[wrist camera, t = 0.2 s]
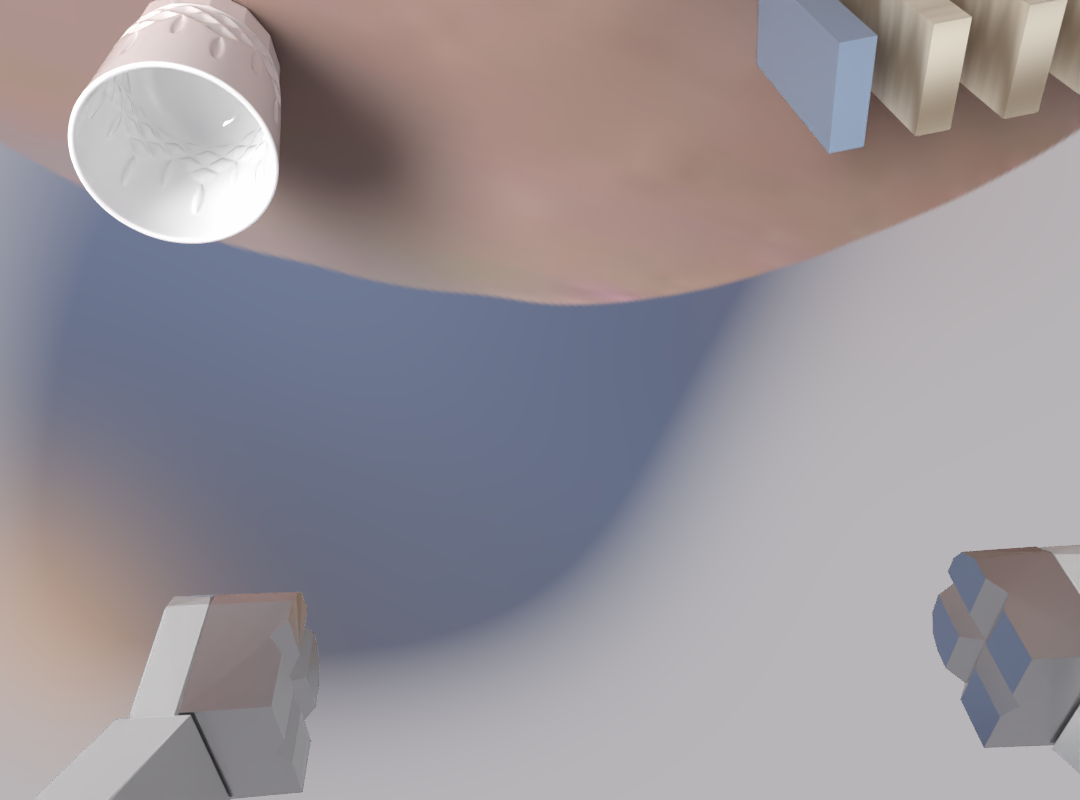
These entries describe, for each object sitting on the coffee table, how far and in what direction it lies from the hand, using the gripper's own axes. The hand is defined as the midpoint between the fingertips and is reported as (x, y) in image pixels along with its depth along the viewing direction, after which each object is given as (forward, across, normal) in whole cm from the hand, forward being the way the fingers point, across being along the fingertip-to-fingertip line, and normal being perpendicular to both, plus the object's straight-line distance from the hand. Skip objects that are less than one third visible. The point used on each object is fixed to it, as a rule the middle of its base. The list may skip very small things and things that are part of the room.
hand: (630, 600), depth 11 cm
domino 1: (+40, -13, +5) cm, 42 cm away
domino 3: (+41, -21, +4) cm, 46 cm away
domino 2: (+40, -17, +4) cm, 44 cm away
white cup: (+38, +15, +5) cm, 41 cm away
